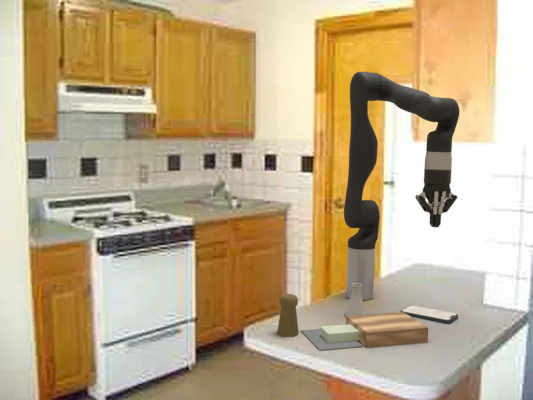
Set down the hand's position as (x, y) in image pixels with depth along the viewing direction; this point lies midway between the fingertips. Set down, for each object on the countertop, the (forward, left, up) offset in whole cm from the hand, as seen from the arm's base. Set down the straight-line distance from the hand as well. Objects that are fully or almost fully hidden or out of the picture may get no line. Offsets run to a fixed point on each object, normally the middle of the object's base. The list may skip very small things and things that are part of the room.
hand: (434, 226), depth 172 cm
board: (+7, -18, -29) cm, 35 cm away
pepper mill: (-1, -44, -29) cm, 53 cm away
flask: (-11, -19, -29) cm, 37 cm away
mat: (+6, -34, -29) cm, 45 cm away
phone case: (-6, +4, -30) cm, 31 cm away
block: (+7, -32, -28) cm, 42 cm away
